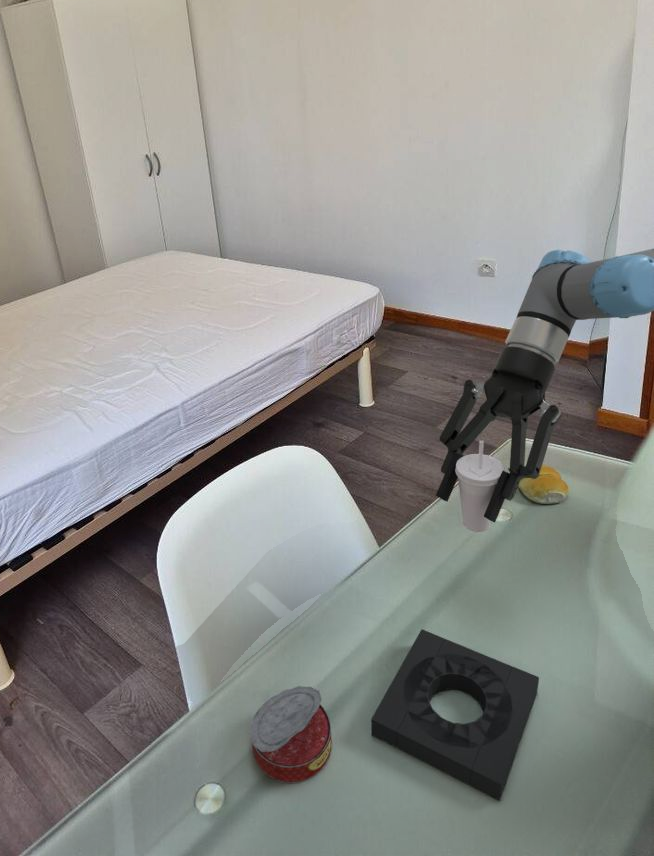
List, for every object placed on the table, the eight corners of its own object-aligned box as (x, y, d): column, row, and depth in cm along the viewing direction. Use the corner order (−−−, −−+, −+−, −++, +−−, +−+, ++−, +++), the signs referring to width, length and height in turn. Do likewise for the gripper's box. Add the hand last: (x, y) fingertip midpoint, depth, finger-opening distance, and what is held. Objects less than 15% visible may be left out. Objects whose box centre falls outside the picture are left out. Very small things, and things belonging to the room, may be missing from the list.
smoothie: (452, 536, 95) (456, 450, 89) (453, 506, 100) (456, 424, 94) (501, 540, 93) (508, 454, 87) (499, 511, 99) (506, 428, 93)
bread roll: (553, 473, 130) (556, 456, 129) (573, 503, 122) (576, 485, 121) (510, 477, 131) (512, 459, 129) (527, 507, 122) (529, 488, 121)
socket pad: (537, 693, 89) (539, 677, 88) (499, 801, 78) (501, 784, 76) (421, 644, 98) (421, 628, 96) (371, 735, 86) (371, 719, 84)
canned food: (283, 807, 83) (240, 781, 77) (262, 729, 91) (222, 700, 86) (361, 759, 82) (324, 729, 77) (333, 684, 91) (297, 652, 85)
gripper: (606, 384, 92) (541, 544, 89) (475, 349, 105) (414, 488, 101) (595, 363, 87) (526, 533, 83) (458, 329, 99) (393, 476, 96)
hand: (464, 508), depth 92 cm, fingers closed on smoothie, 6 cm apart
